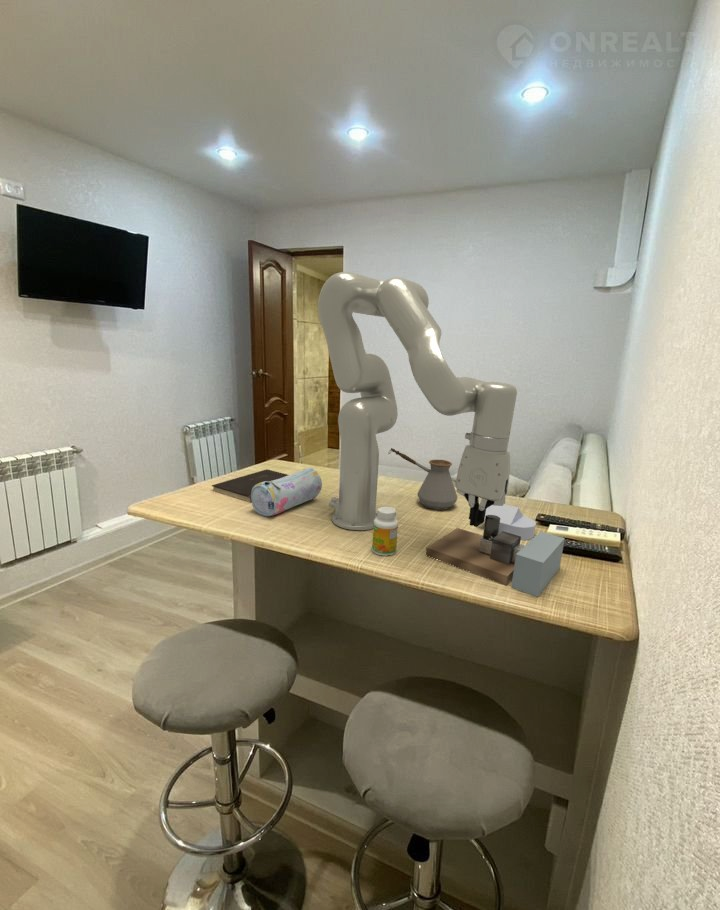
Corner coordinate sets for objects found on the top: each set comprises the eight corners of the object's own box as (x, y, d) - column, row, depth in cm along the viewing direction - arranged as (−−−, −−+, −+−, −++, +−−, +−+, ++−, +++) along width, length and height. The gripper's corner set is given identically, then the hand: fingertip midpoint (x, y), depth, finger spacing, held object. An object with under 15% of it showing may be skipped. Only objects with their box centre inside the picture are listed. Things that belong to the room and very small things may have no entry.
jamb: (511, 587, 86) (516, 554, 84) (535, 560, 98) (540, 531, 96) (537, 597, 83) (543, 562, 82) (559, 568, 95) (564, 538, 93)
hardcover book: (211, 492, 132) (211, 485, 131) (266, 475, 151) (266, 469, 150) (250, 504, 124) (250, 497, 123) (303, 485, 143) (303, 478, 142)
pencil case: (271, 521, 112) (271, 485, 109) (247, 513, 116) (247, 478, 114) (323, 500, 129) (324, 469, 126) (301, 494, 133) (301, 463, 131)
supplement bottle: (366, 550, 99) (369, 508, 96) (383, 543, 102) (385, 503, 100) (384, 559, 95) (387, 516, 93) (401, 551, 99) (404, 510, 96)
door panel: (425, 555, 97) (428, 528, 96) (456, 535, 109) (459, 510, 107) (506, 585, 87) (510, 554, 85) (530, 559, 98) (535, 532, 97)
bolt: (479, 550, 96) (483, 517, 94) (484, 546, 98) (488, 513, 96) (535, 569, 89) (541, 534, 87) (540, 564, 91) (546, 529, 89)
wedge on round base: (476, 528, 114) (527, 543, 107) (479, 503, 113) (531, 517, 105) (489, 518, 121) (538, 532, 113) (492, 495, 120) (542, 507, 112)
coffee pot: (459, 502, 133) (465, 453, 129) (452, 515, 122) (457, 462, 119) (391, 490, 140) (395, 444, 137) (379, 501, 130) (382, 451, 126)
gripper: (448, 437, 94) (437, 518, 98) (518, 453, 85) (502, 541, 90) (463, 433, 99) (452, 510, 104) (531, 448, 91) (515, 530, 96)
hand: (475, 524), depth 97 cm, fingers closed
